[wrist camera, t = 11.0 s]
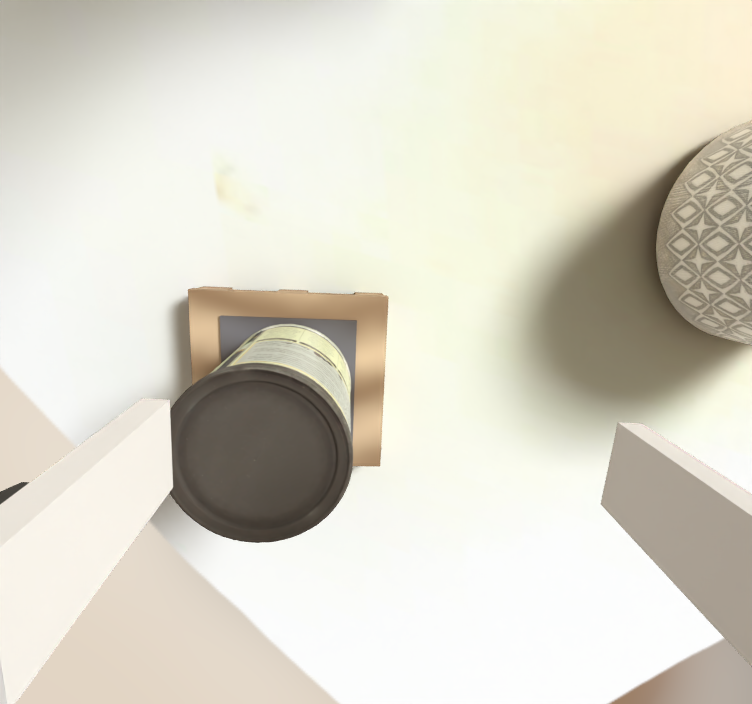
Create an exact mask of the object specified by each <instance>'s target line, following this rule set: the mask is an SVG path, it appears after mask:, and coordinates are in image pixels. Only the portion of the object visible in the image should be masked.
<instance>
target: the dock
mask: <svg viewBox="0 0 752 704" xmlns="http://www.w3.org/2000/svg"><path fill="white" fill-rule="evenodd" d="M188 300H189V322H190V343H191V365H192V385H193V384H195V383H196V382H197V381H199V380H200V379H201V378H203V377H205V376H207V375H208V374H210V373H211V372H212V371H213V370H214V369H215V368H217V367H218V366H219V365H220V364H221V363H222V362H223V361H225V360H226V359H227V358H228V357H229V356H230V355H231V354H232V353H233V352H235V351H236V350H237V349H238V348H239V347H240V346H241V344H242V343H243V342H244V341H245V340H246V339H247V338H248V337H250V336H251V335H252V334H254V333H256V332H257V331H259V330H261V329H264V328H266V327H269V326H273V325H279V324H296V325H302V326H306V327H309V328H312V329H314V330H317V331H318V332H320V333H322V334H323V335H325V336H326V337H328V338H329V339H330V340H331V341H332V342H333V343H334V344H335V345H336V346H337V347H338V348H339V350H340V351H341V353H342V354H343V356H344V358H345V360H346V362H347V364H348V368H349V371H350V377H351V392H350V416H351V437H352V443H353V466H380V457H381V437H382V416H383V396H384V376H385V356H386V336H387V315H388V296H384V295H383V294H382V293H357V292H355V294H331V293H308V291H306V290H278V291H254V290H232V288H229V287H200V288H192V289H188Z"/></svg>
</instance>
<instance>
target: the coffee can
mask: <svg viewBox="0 0 752 704" xmlns="http://www.w3.org/2000/svg"><path fill="white" fill-rule="evenodd" d="M350 392H351V377H350V371H349V368H348V364H347V362H346V360H345V358H344V356H343V354H342V353H341V351H340V350H339V348H338V347H337V346H336V345H335V344H334V343H333V342H332V341H331V340H330V339H329V338H328V337H326V336H325V335H323V334H322V333H320V332H318V331H317V330H314V329H312V328H309V327H306V326H302V325H296V324H279V325H273V326H269V327H266V328H264V329H261V330H259V331H257V332H256V333H254V334H252V335H251V336H250V337H248V338H247V339H246V340H245V341H244V342H243V343H242V344H241V346H240V347H239V348H238V349H237V350H236V351H235V352H233V353H232V354H231V355H230V356H229V357H228V358H227V359H226V360H225V361H223V362H222V363H221V364H220V365H219V366H218V367H217V368H215V369H214V370H213V371H212V372H211V373H210V374H208V375H207V376H205V377H203V378H201V379H200V380H199V381H197V382H196V383H195V384H193V385H192V386H191V387H190V388H188V389H187V390H186V391H185V392H184V393H183V394H182V395H181V396H180V398H179V399H178V400H177V401H176V402H175V404H174V405H173V407H172V408H171V410H170V420H171V446H172V472H173V488H172V490H171V491H170V494H171V496H172V497H173V499H174V500H175V502H176V503H177V504H178V505H179V506H180V507H181V509H182V510H183V511H184V512H185V513H186V514H187V515H188V516H190V517H191V518H192V519H193V520H194V521H196V522H197V523H198V524H200V525H201V526H203V527H204V528H206V529H208V530H209V531H211V532H213V533H215V534H218V535H221V536H223V537H226V538H230V539H233V540H238V541H244V542H256V543H260V542H274V541H279V540H284V539H288V538H291V537H294V536H297V535H299V534H301V533H303V532H305V531H307V530H309V529H311V528H313V527H314V526H316V525H317V524H319V523H320V522H321V521H322V520H323V519H325V518H326V517H327V516H328V515H329V514H330V513H331V512H332V511H333V509H334V508H335V507H336V506H337V504H338V503H339V501H340V500H341V498H342V497H343V495H344V493H345V491H346V489H347V486H348V484H349V481H350V477H351V473H352V467H353V443H352V437H351V416H350Z"/></svg>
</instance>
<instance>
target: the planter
mask: <svg viewBox="0 0 752 704" xmlns="http://www.w3.org/2000/svg"><path fill="white" fill-rule="evenodd" d="M656 257H657V267H658V271H659V276H660V280H661V283H662V285H663V288H664V290H665V293H666V295H667V297H668V298H669V300H670V301H671V303H672V305H673V306H674V308H675V309H676V310H677V311H678V312H679V313H680V314H681V315H682V316H683V318H684V319H685V320H687V321H688V322H690V323H691V324H692V325H694V326H695V327H696V328H698V329H700V330H702V331H704V332H706V333H708V334H710V335H713V336H717V337H721V338H724V339H728V340H732V341H736V342H741V343H745V344H749V345H752V120H751V121H749V122H746V123H744V124H741V125H738V126H736V127H734V128H732V129H730V130H729V131H727V132H725V133H723V134H722V135H720V136H718V137H717V138H716V139H714V140H713V141H712V142H710V143H709V144H708V145H707V146H705V147H704V148H703V149H702V150H701V151H700V152H699V153H698V154H697V155H696V156H695V157H694V158H693V159H692V160H691V161H690V162H689V163H688V165H687V166H686V167H685V169H684V170H683V172H682V173H681V174H680V176H679V177H678V178H677V180H676V182H675V184H674V186H673V187H672V189H671V191H670V193H669V195H668V197H667V200H666V202H665V205H664V208H663V210H662V213H661V217H660V221H659V226H658V230H657V241H656Z"/></svg>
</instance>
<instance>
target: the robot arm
mask: <svg viewBox="0 0 752 704" xmlns="http://www.w3.org/2000/svg"><path fill="white" fill-rule="evenodd" d="M172 488H173V472H172V446H171V420H170V400H164V399H145V398H142V399H140V400H139V401H138V402H136V403H135V404H134V405H132V406H131V407H130V408H128V409H127V410H126V411H124V412H123V413H122V414H120V415H119V416H118V417H116V418H115V419H114V420H112V421H111V422H110V423H108V424H107V425H106V426H104V427H103V428H102V429H100V430H99V431H98V432H96V433H95V434H94V435H92V436H91V437H90V438H88V439H87V440H86V441H84V442H83V443H82V444H80V445H79V446H78V447H76V448H75V449H74V450H72V451H71V452H70V453H68V454H67V455H66V456H65V457H63V458H62V459H60V460H59V461H58V462H56V463H55V464H54V465H53V466H51V467H50V468H49V469H47V470H46V471H44V472H43V473H42V474H40V475H39V476H38V477H36V478H35V479H34V480H32V481H31V482H30V483H29V482H28V483H27V482H21V483H19V484H17V485H14V486H12V487H10V488H8V489H6V490H3V491H1V492H0V704H16V702H17V701H18V699H19V698H20V697H21V695H22V694H23V693H24V691H25V690H26V688H27V687H28V686H29V684H30V683H31V682H32V680H33V679H34V677H35V676H36V675H37V673H38V672H39V671H40V669H41V668H42V666H43V665H44V663H45V662H46V661H47V660H48V658H49V657H50V655H51V654H52V653H53V651H54V650H55V649H56V647H57V646H58V645H59V643H60V642H61V640H62V639H63V638H64V636H65V635H66V634H67V632H68V631H69V629H70V628H71V627H72V625H73V624H74V623H75V621H76V620H77V619H78V617H79V616H80V614H81V613H82V612H83V610H84V609H85V607H86V606H87V605H88V603H89V602H90V600H91V599H92V598H93V597H94V595H95V594H96V592H97V591H98V590H99V588H100V587H101V586H102V584H103V583H104V581H105V580H106V579H107V577H108V576H109V575H110V573H111V572H112V571H113V569H114V568H115V566H116V565H117V564H118V562H119V561H120V560H121V558H122V557H123V555H124V554H125V553H126V551H127V550H128V549H129V547H130V546H131V544H132V543H133V542H134V540H135V539H136V538H137V536H138V535H139V534H140V532H141V531H142V529H143V528H144V527H145V525H146V524H147V523H148V521H149V520H150V518H151V517H152V516H153V514H154V513H155V512H156V510H157V509H158V507H159V506H160V505H161V503H162V502H163V501H164V499H165V498H166V497H167V495H168V494H169V492H170V491H171V490H172ZM601 505H602V506H603V507H604V508H605V509H606V511H607V512H608V513H609V514H610V515H611V516H612V517H613V518H614V519H615V520H616V521H617V522H618V523H619V525H620V526H621V527H622V528H623V529H624V530H625V531H626V532H627V533H628V534H629V535H630V536H631V538H632V539H633V540H634V541H635V542H636V543H637V544H638V545H639V546H640V547H641V548H642V549H643V550H644V552H645V553H646V554H647V555H648V556H649V557H650V558H651V559H652V560H653V561H654V562H655V563H656V564H657V566H658V567H659V568H660V569H661V570H662V571H663V572H664V573H665V574H666V575H667V576H668V577H669V579H670V580H671V581H672V582H673V583H674V584H675V585H676V586H677V587H678V588H679V589H680V590H681V591H682V593H683V594H684V595H685V596H686V597H687V598H688V599H689V600H690V601H691V602H692V603H693V604H694V606H695V607H696V608H697V609H698V610H699V611H700V612H701V613H702V614H703V615H704V616H705V617H706V618H707V620H708V621H709V622H710V623H711V624H712V625H713V626H714V627H715V628H716V629H717V630H718V631H719V633H720V634H721V635H722V636H723V637H724V638H725V639H726V640H727V641H728V642H729V643H730V644H731V645H732V647H733V648H734V649H735V650H736V651H737V652H738V653H739V654H740V655H741V656H742V657H743V658H744V660H745V661H746V662H747V663H748V664H749V665H750V666H751V667H752V494H751V493H750V492H748V491H746V490H745V489H743V488H742V487H740V486H739V485H737V484H736V483H734V482H732V481H731V480H729V479H728V478H726V477H725V476H723V475H722V474H720V473H718V472H717V471H715V470H714V469H712V468H711V467H709V466H708V465H706V464H704V463H703V462H701V461H700V460H698V459H697V458H695V457H694V456H692V455H690V454H689V453H687V452H686V451H684V450H683V449H681V448H680V447H678V446H676V445H675V444H673V443H672V442H670V441H669V440H667V439H666V438H664V437H662V436H661V435H659V434H658V433H656V432H655V431H653V430H652V429H650V428H648V427H647V426H645V425H644V424H640V423H620V422H618V424H617V429H616V434H615V438H614V443H613V448H612V453H611V457H610V462H609V467H608V472H607V476H606V481H605V486H604V491H603V495H602V500H601Z"/></svg>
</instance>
